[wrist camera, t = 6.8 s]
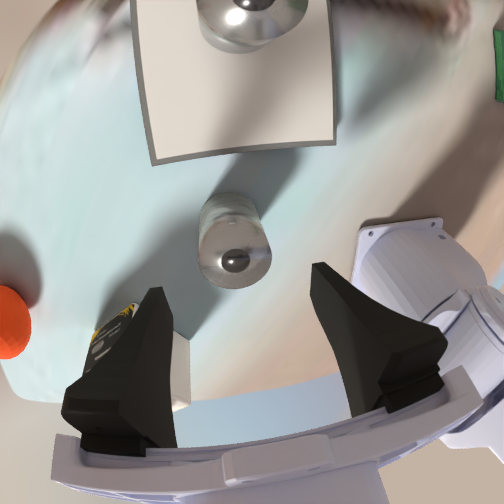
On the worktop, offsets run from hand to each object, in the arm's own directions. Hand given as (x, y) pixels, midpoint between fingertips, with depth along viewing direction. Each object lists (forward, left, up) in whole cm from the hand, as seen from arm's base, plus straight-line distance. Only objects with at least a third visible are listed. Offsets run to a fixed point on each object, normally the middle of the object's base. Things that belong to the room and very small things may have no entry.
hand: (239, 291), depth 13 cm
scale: (-2, -12, -7) cm, 14 cm away
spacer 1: (-2, -13, -5) cm, 14 cm away
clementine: (+23, +4, -8) cm, 25 cm away
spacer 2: (0, 0, -8) cm, 8 cm away
